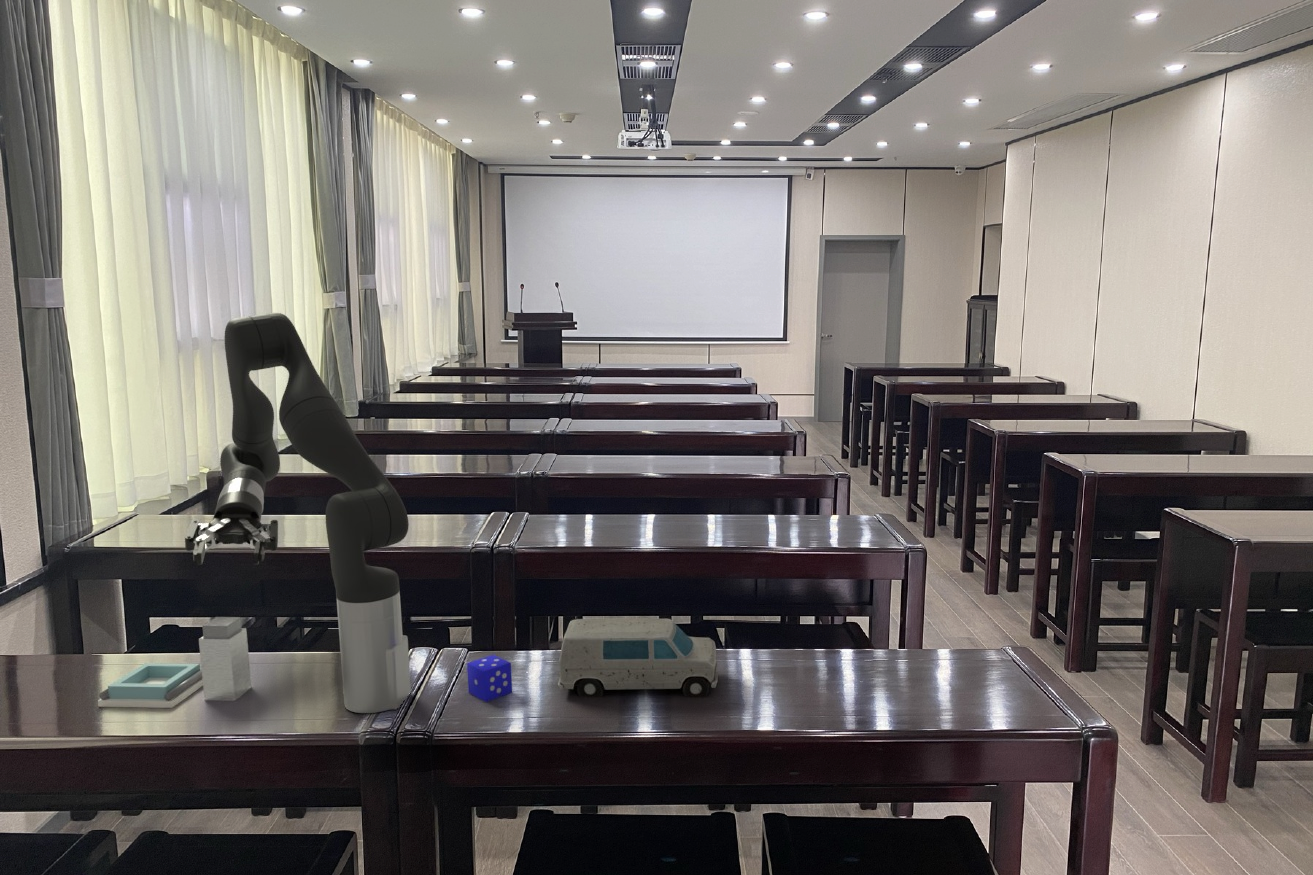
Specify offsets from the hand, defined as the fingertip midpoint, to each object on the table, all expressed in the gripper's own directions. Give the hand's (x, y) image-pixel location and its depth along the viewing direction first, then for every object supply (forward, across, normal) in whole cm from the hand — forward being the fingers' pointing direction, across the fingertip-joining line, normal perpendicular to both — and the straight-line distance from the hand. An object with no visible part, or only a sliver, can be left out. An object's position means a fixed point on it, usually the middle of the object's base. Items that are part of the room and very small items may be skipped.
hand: (227, 560), depth 154 cm
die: (+26, +41, +8) cm, 49 cm away
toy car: (+30, +64, +4) cm, 70 cm away
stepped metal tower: (+14, +1, +16) cm, 21 cm away
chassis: (+10, -10, +19) cm, 23 cm away
